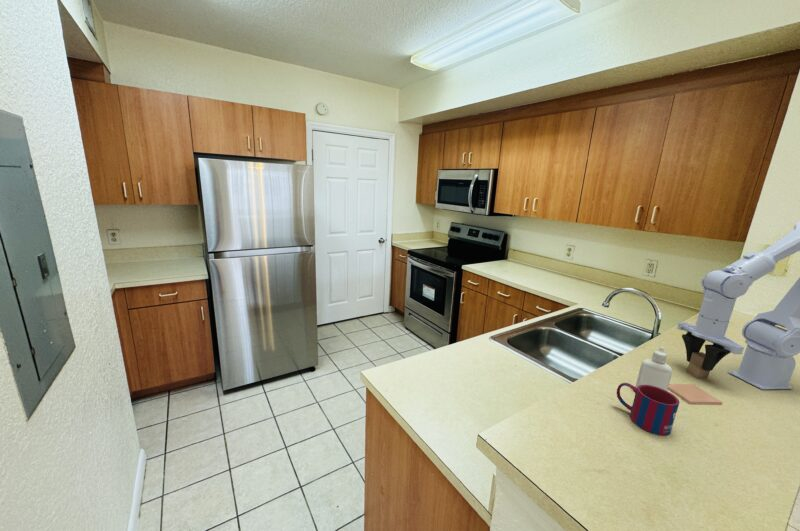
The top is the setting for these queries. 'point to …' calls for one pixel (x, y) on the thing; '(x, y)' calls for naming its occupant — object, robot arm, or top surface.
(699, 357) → the block
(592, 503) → the top surface
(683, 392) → the tile
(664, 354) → the eye dropper bottle
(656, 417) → the mug
